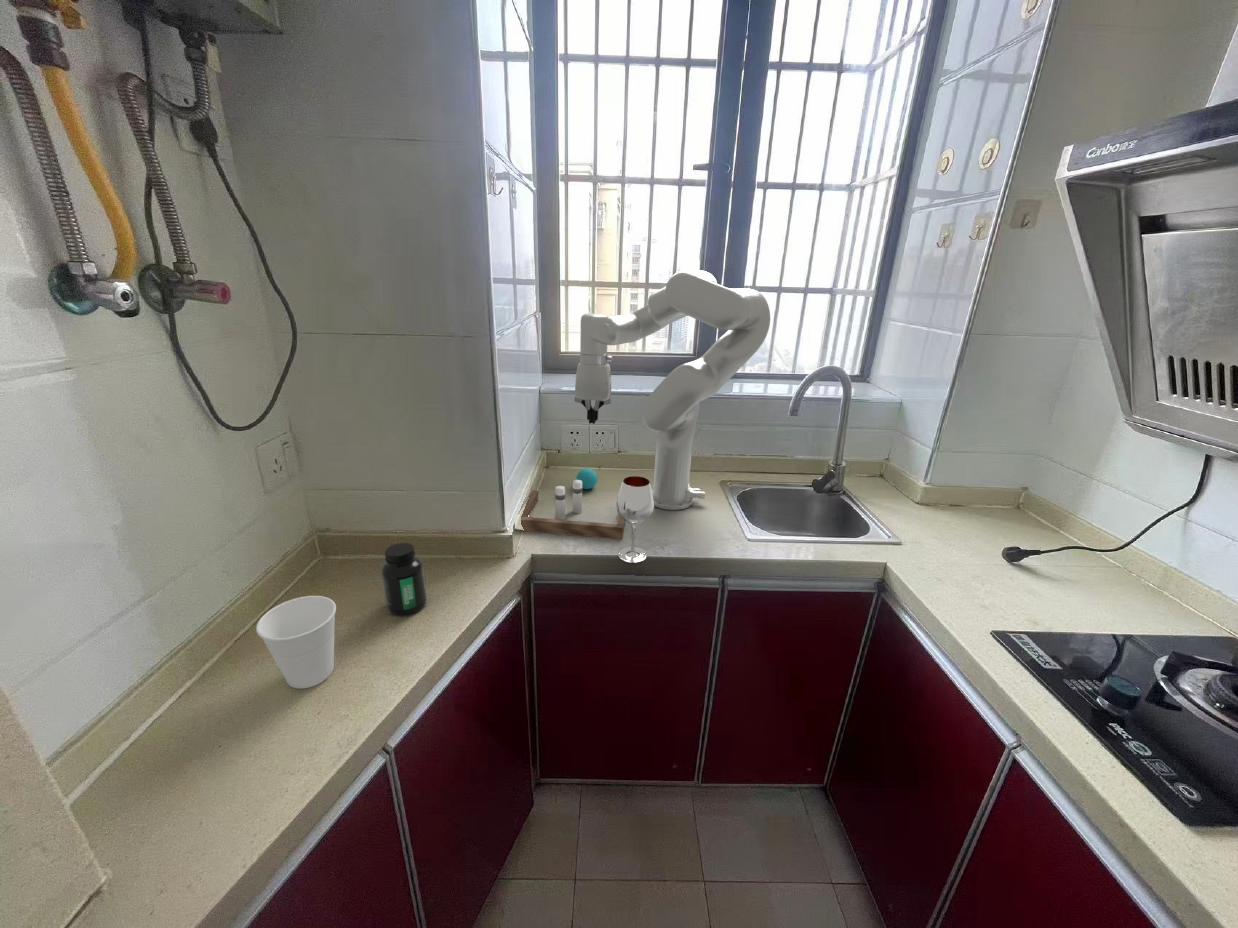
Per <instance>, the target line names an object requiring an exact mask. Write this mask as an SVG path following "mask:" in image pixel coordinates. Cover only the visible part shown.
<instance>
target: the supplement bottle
mask: <svg viewBox="0 0 1238 928" xmlns="http://www.w3.org/2000/svg"><path fill="white" fill-rule="evenodd" d="M384 556H385V557H384V560H385V562H384V564H383V565H382V567H381V571H380V572H381V579H382V584H383V591H384V592H383V593H384V597H385V604H386V609H387V611H388V612H389V613H390V614H392V615H393V616H395V617H407V616H411V615H414V614H417V613H418V612H420V611H421V610H422V609H423V608H424V607H425V606H426V604H427V590H426V581H425V574H424V573H425V572H424V566H423V563H422V560H421V559H420V558H419V557H418V556H416V551H415V546H414V545H413V544H412V543H409V542H397V543H394V544H391V545H389V546H388V547H387V548H385V550H384Z"/></svg>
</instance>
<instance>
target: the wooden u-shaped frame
mask: <svg viewBox="0 0 1238 928" xmlns="http://www.w3.org/2000/svg"><path fill="white" fill-rule="evenodd" d="M528 497H529V499H528V501H527V503H526V506H525V509H524V511H523V514H522V516H521V525H522V527H523V529H524V530H525V531H524V532H532V531H533V532H535V533H536V532H537V533H545V534H546V533H547V534H559V535H568V536H569V535H570V536H580V537H581V536H583V537H594V538H605V539H616V540H622V539H623V536H624V531H625V528H626V527H625V526H626V522H627V521H625V520H624V519H623V518H622V517H621V516H620V515H619V514H618V518H617V523H607V522H606V523H604V522H593V521H591V522H590V521H580V520H567V519H564V520H558V519H556V518H545V517H544V518H543V517H530V516H531V514H532V513H531V511H532V510H533V511H534V509H535V507H536V506H537V504H538V503H539V490H535V489H533V490H532V491H531V492H530V493H529V496H528ZM535 505H536V506H535ZM533 508H534V509H533ZM533 511H532V512H533ZM530 513H531V514H530ZM528 515H530V516H529V517H528ZM533 532H532V533H533Z"/></svg>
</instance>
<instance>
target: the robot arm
mask: <svg viewBox="0 0 1238 928" xmlns="http://www.w3.org/2000/svg"><path fill="white" fill-rule="evenodd" d="M687 316H688V317H691V318H692V319H695V320H697V321H699V322H702V323H704V324H706V325H708V326H710V327H712V328H715V329H718V330H720V331H726V332H725V333H724V334H722V335H721V336H720V337H719V338H717V340H716V341H715V342H714V343H713V344H712V345H711V346H710V347H709V348H708V349H707V350H706V351H705V353H704V354H703V355H701V356H700V357H699V358H697V359H695V360H692V361H688V362H685V363H683V364H680V365H678V366H677V367H675V368H674V369H673V370H672V371H671V372H670V373H668V375H666V376H665V378H664V379H663V380H661V382H660V383H659V384H658V385H657V386H656V387H655V389H653V391H651V393H650V394H649V395H648V397H647V398H646V399H645V400H644V402H643V404H642V407H641V420H642V423H643V424H644V425H645V426H646V428H648V429H649V430H650V431H652V432H656V433H657V435H656V443H655V444H656V446H655V456H654V457H655V460H654V471H653V472H654V474H653V475H654V476H653V487H652V493H653V498H654V507H656V508H658V509H663V510H668V511H669V510H670V511H678V510H684V509H687V508H689V507H691V505H692V504H693V502H694V499H698V500H699V499H700V500H701V499H702V500H703V499H704V500H705V499H706V498H705V497H706V492H705V491H701V488H692V487H691V486H690V474H691V463H692V462H691V461H692V451H693V443H694V434H695V430H696V425H697V421H698V416H699V412H700V402H702V401H705V400H706V399H709V398H711V397H713V396H714V395H716V394H717V393H718V392H719V391H720V390H721V389H722V387H724V385H725V384H726V383H727V382H728V381H729V380H730V379H731V378H732V377H733V376H734V375H735V374H736V373H737V372H738V371H739V370H740V369H741V368H742V367H743V366H744V365H746V363H747V362H749V360H750V359H751V358H752V357H753V356H754V355H755V354H756V353H757V351H758V350H759V349H760V348H761V346H762V345H763V343H764V342H765V339H766V337H767V336H768V334H769V330H770V326H771V324H770V323H771V311H770V306H769V304H768V301H767V299H766V298H765V296H764V295H763V294H762V293H761V292H759V291H758V290H755V289H751V288H729V287H726V286H724V285H721V284H718V282H717V279H716V278H715V277H714V275H713V274H712V273H710V272H707V271H705V270H699V269H698V270H697V269H682V270H680V271H678V272H675V273H674V274H673V275H671V277H670V278H669V279H668V281H667V283H666V285H665V286H664V287H662V288H660V289H657V290H656V291H654V292H652V293H651V294H650V295H649V297H648V298H647V305H645V306H643V307H641V308H639V309H637V310H635V311H633V312H631V313H628V314H617V315H608V316H607V315H606V314H602V313H585V314H583V315H582V316H581V317H580V339H579V340H580V350H579V351H580V352H579V353H580V357H579V359H580V361H579V363H578V364H577V366H576V367H577V368H576V372H575V373H576V375H575V385H574V402H576V403H579V404H581V405H582V406H583V407H584V408H585V409H586V412H587V413H586V419H587V420H588V424H595V423H596V422H597V421H598V419H599V409H600V408H602V407H603V406H605V405H611V403H612V397H611V395H612V372H611V366H610V364H609V362H613V356H610V355H608V346H617V345H623V344H628V343H629V344H630V343H635V342H637V341H639V340H641V339H644V338H646V337H649V336H651V335H653V334H655V333H657V332H658V331H660V330H661V329H663V328H665V327H666V326H668V325H670V324H673V323H675V322H677V321H679V320H681V319H683V318H686V317H687ZM592 401H594V407H593V406H592Z"/></svg>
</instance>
